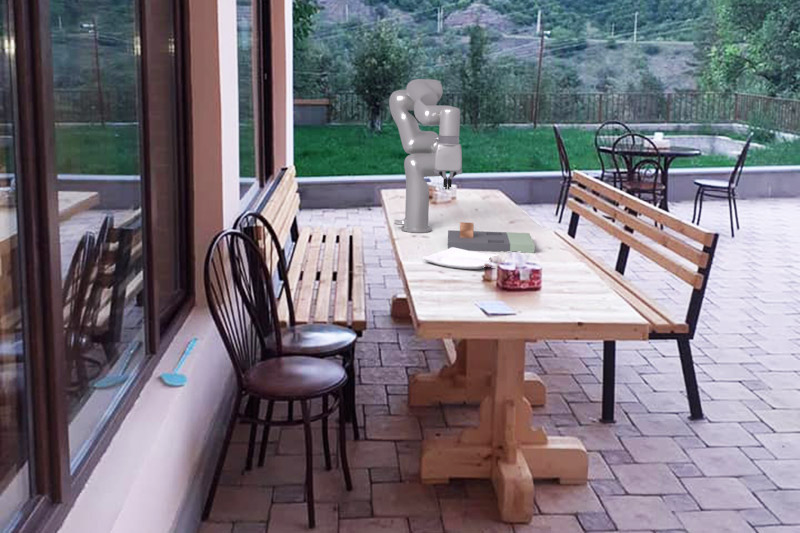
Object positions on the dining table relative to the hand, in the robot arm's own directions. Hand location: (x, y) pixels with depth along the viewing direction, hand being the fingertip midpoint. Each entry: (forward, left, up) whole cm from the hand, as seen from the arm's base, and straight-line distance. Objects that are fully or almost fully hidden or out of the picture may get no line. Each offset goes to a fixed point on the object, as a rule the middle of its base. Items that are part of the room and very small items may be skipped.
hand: (447, 189), depth 344 cm
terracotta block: (+8, 0, -18) cm, 20 cm away
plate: (+7, -33, -22) cm, 40 cm away
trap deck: (+17, 0, -21) cm, 27 cm away
